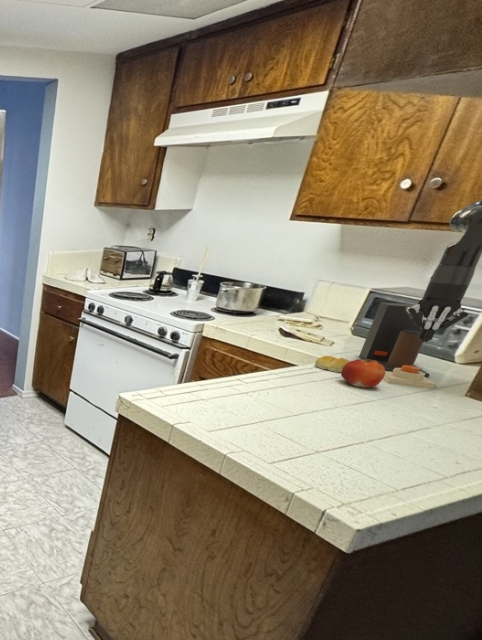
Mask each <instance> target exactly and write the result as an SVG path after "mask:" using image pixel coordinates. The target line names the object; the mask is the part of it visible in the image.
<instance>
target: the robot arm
mask: <svg viewBox="0 0 482 640" xmlns="http://www.w3.org/2000/svg"><path fill="white" fill-rule="evenodd" d="M449 228H451V230H453V231H455V232H457V233H463V235H462V236H461V238H460V239H459V240H458V241H455V242H452V243H449V244H448V245H447V246H446V247H445V249H444V251H443V253H442V255H441V257H440V260H439V262H438V264H437V266H436V267H435V269H434V271H433V272H432V275H431V276H430V280H429V282H428V284H427V287H426V289H425V291H424V294H423V296H422V298H421V299H420V300H419V301H417V304H414V305H415V306H412V307H406V309H405V310H406V312H407V313H408V315H409V317H410V318H411V320H412V322H413V324H415V325H417V326H419V327H420V330H419V332H418V335H417V338H418V340H419V341H422V342H423V343H428V342H429V341H432V339H433V338H434V336H435V333H436V332H437V330H440V329H444V330H445V329H448V328H449V327H451V326H453V325H454V324H456V323H458V322H460V321H461V320H463V319H465V318H466V317H468V316H469V313H468V312H466V311H464V310H463V309H462V301H463V299H464V297H465V295H466V292H467V290H468V288H469V286H470V284H471V283H472V280H473V278H474V275H475V271H476V268H477V265H478V263H479V262H480V259H481V258H482V199H481V200H478V201H475V202H472V203H470V204H468V205H466V206H463V207H462V208H460V209H459V210H457V211H456V212H455V213H453V215H452V216H451V217H450V220H449ZM419 308H420V310H421V312H422V314H423V317H422V321H421V319H420V318H419V316H418V314H417V313H418V312H419Z"/></svg>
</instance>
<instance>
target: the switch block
mask: <svg viewBox="0 0 482 640" xmlns="http://www.w3.org/2000/svg"><path fill="white" fill-rule="evenodd" d="M401 369H402V368H394V369H393V372H388V371H385V376H384V377H383V379H382V381H385V382H386V383H387V384H393V385H401V386H408V387H416V388H422V389H423V388H424V389H432V390H434V389H435V387H436V383H435V382H434V381H432V380H430V379H429V378H426V377H424V376H425V373H423V372H420V371H418V374H415V373H408V372H404V371H401Z"/></svg>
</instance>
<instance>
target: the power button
mask: <svg viewBox="0 0 482 640" xmlns="http://www.w3.org/2000/svg"><path fill="white" fill-rule="evenodd" d="M415 366H416V365H415ZM415 366H410V365H403V366H402V369H401V371H404V372H408V373H415V374H418V371H419V369H421V368H420V367H418V366H417V367H415Z"/></svg>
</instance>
